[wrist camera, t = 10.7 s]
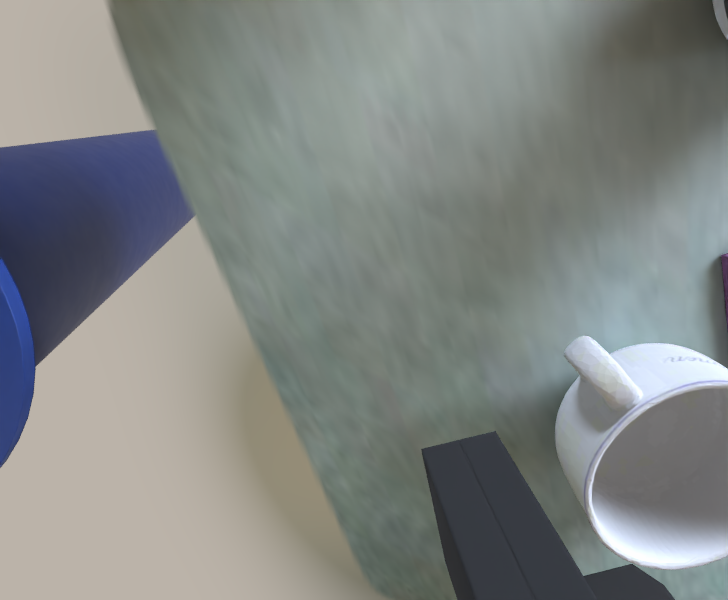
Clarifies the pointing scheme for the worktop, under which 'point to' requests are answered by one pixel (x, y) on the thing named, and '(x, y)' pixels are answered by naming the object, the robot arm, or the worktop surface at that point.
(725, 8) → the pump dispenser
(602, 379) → the teacup
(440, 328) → the worktop surface
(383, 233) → the worktop surface
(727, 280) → the purple flat block
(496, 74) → the worktop surface
